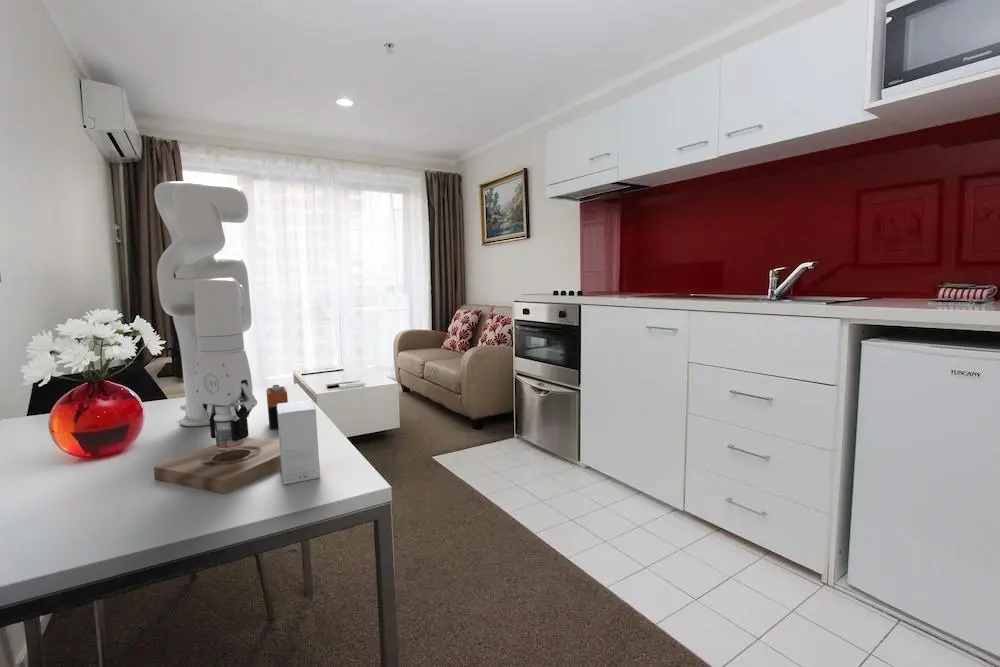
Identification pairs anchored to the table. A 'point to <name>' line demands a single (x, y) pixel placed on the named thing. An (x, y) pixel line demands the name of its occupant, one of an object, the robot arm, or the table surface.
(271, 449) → the socket block
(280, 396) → the battery
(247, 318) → the robot arm
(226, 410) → the pill bottle
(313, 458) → the small box
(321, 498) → the table surface
